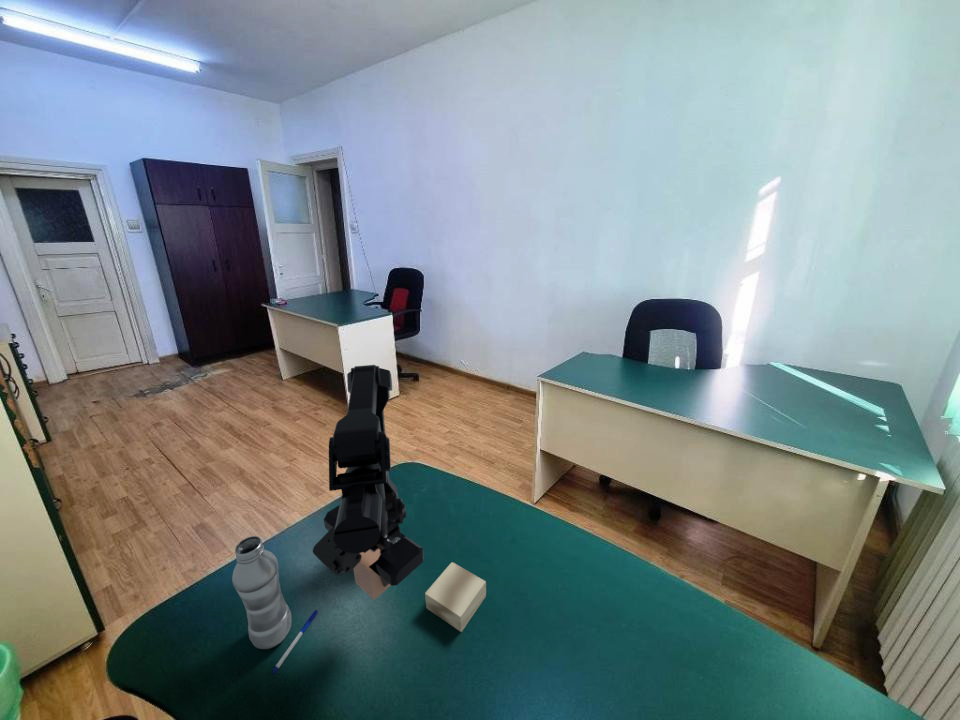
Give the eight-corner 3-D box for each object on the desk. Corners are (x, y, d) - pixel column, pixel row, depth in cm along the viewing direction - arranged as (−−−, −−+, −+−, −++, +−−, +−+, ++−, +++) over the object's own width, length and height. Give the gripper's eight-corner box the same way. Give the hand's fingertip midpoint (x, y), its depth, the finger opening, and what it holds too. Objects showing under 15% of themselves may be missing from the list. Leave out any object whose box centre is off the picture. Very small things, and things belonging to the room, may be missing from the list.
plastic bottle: (251, 663, 60) (220, 570, 53) (253, 626, 66) (226, 537, 59) (294, 643, 63) (271, 552, 56) (293, 609, 69) (271, 523, 62)
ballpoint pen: (314, 611, 68) (313, 607, 68) (318, 612, 68) (318, 608, 68) (271, 674, 59) (270, 670, 59) (276, 675, 59) (275, 671, 58)
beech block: (426, 609, 69) (425, 593, 67) (452, 576, 75) (451, 561, 74) (461, 633, 65) (460, 617, 63) (486, 597, 71) (485, 581, 69)
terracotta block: (355, 582, 63) (351, 555, 61) (380, 563, 66) (376, 536, 64) (374, 600, 60) (369, 572, 58) (398, 578, 63) (395, 551, 61)
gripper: (285, 503, 57) (302, 579, 62) (356, 567, 46) (370, 653, 51) (349, 468, 65) (359, 537, 70) (422, 515, 54) (428, 594, 59)
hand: (376, 575), depth 63 cm, fingers closed on terracotta block, 5 cm apart
